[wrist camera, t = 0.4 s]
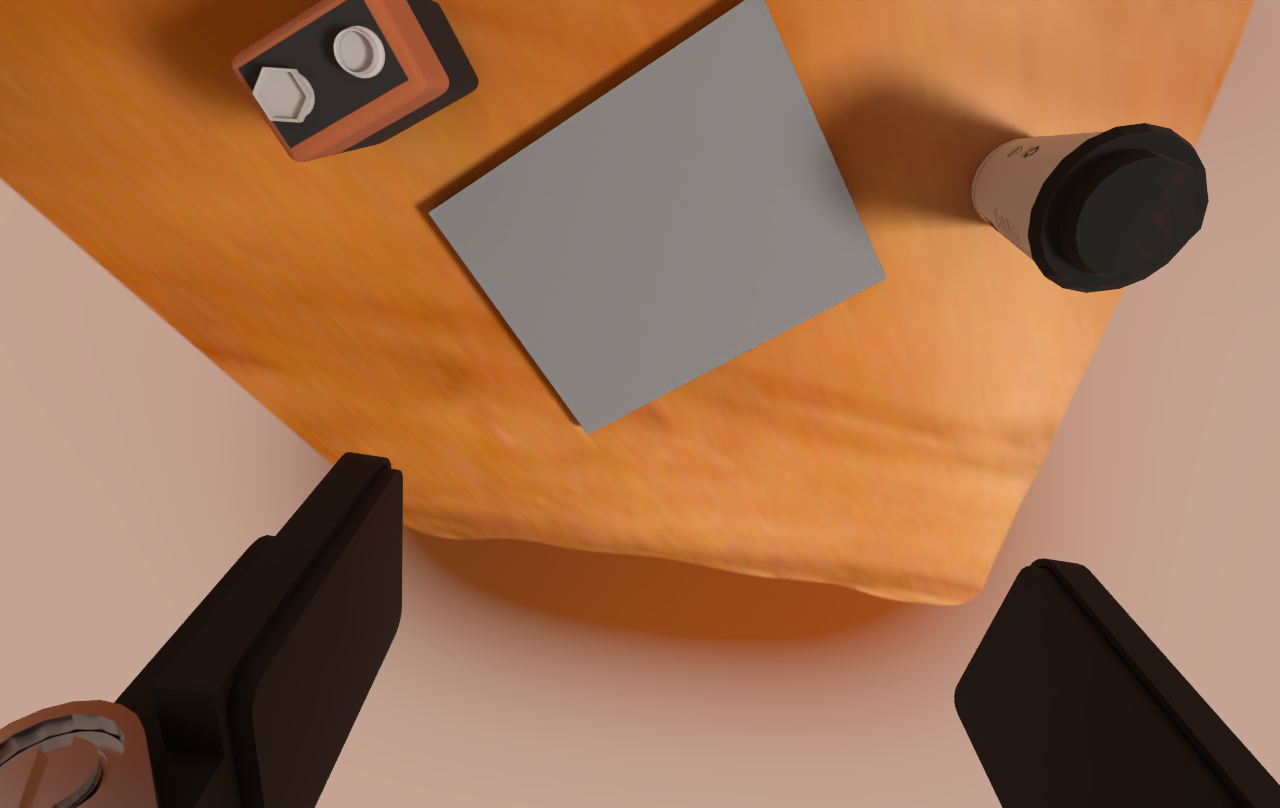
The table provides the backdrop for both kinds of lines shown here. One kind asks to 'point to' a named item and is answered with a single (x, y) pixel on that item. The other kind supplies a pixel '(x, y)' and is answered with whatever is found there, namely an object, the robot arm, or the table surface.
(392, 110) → the battery
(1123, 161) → the coffee cup
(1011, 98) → the table surface
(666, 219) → the desk mat
